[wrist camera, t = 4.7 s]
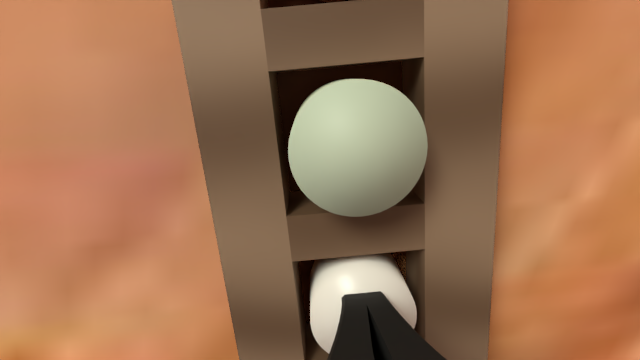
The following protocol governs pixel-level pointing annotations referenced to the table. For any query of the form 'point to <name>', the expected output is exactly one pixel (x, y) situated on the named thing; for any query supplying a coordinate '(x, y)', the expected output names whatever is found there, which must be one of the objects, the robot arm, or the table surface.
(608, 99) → the table surface
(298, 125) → the sage button
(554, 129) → the table surface
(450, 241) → the button board
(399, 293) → the cream button
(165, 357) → the table surface
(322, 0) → the orange button
